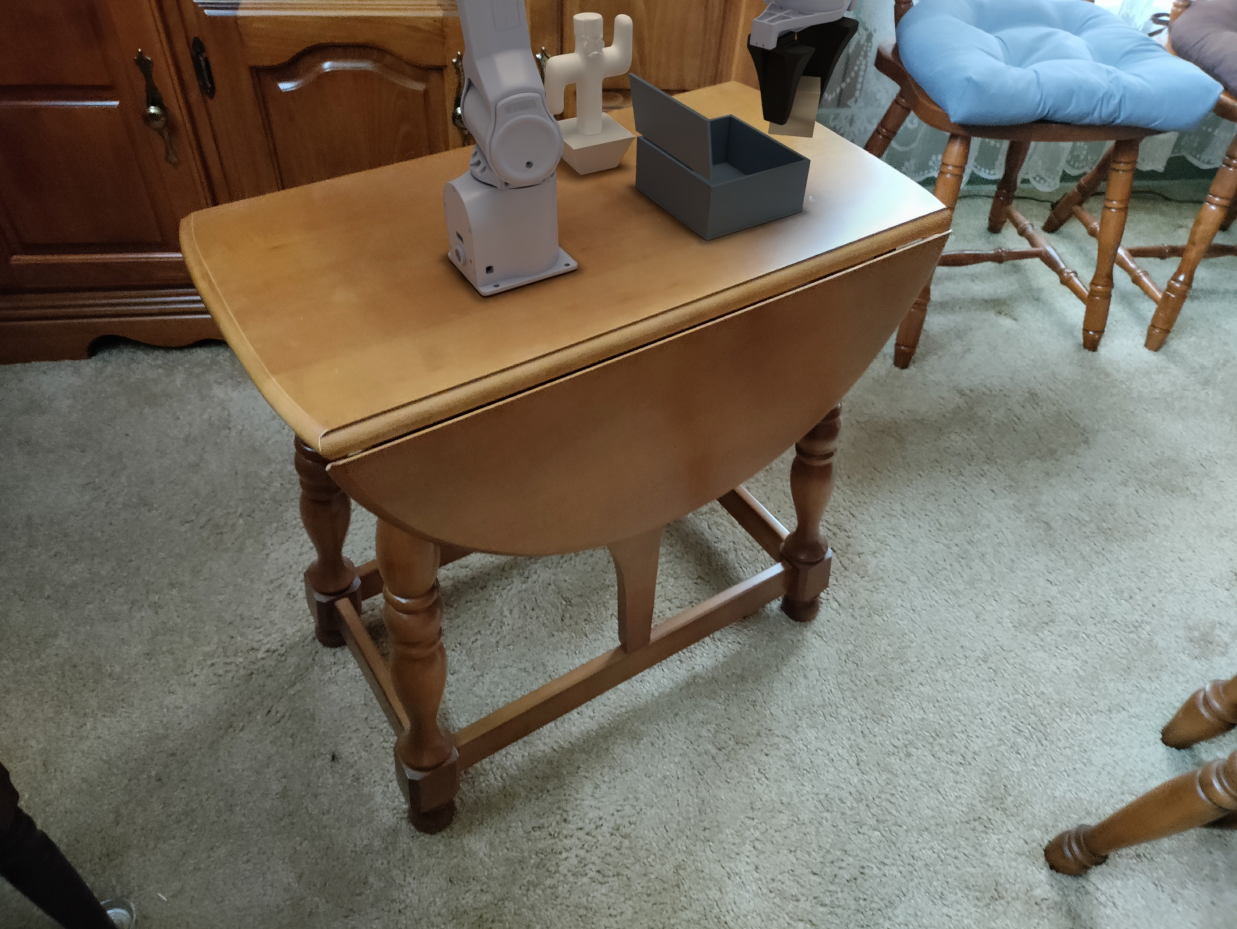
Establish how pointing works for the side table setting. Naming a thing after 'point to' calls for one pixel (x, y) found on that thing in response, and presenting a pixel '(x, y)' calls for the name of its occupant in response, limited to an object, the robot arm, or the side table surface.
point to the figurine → (590, 93)
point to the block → (801, 110)
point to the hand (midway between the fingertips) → (792, 111)
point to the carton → (726, 180)
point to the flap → (672, 126)
